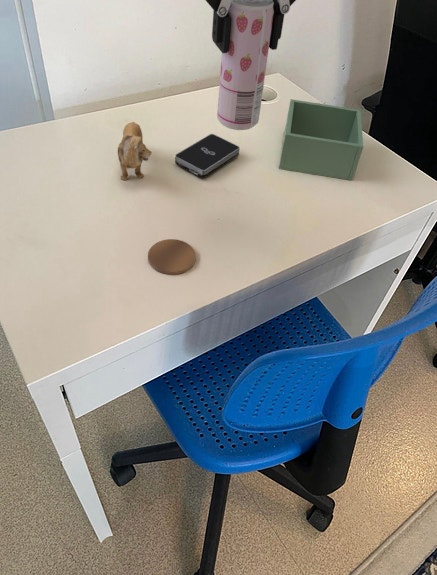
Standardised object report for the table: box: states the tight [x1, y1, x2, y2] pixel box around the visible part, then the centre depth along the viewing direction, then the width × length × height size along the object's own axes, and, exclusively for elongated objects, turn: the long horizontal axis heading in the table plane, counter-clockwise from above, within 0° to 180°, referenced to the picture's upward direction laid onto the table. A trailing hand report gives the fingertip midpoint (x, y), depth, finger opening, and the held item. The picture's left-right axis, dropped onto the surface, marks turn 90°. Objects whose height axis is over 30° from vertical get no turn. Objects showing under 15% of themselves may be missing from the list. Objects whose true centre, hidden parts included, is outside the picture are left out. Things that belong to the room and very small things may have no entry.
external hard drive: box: [174, 133, 240, 179], centre depth 91 cm, size 7×11×2 cm, turn 142°
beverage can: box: [216, 0, 274, 131], centre depth 62 cm, size 6×6×15 cm
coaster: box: [147, 238, 197, 276], centre depth 73 cm, size 7×7×1 cm
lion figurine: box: [117, 121, 153, 181], centre depth 85 cm, size 15×5×9 cm, turn 13°
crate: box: [278, 98, 364, 181], centre depth 93 cm, size 14×14×7 cm
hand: (245, 45), depth 60 cm, fingers closed on beverage can, 5 cm apart
